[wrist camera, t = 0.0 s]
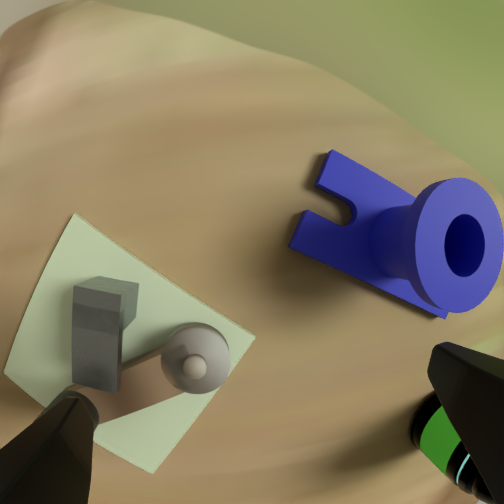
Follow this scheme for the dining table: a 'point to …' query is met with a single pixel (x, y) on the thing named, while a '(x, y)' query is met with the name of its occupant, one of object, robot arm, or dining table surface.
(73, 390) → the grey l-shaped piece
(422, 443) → the bottle
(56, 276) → the plate
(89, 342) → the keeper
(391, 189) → the mount
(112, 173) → the dining table surface
